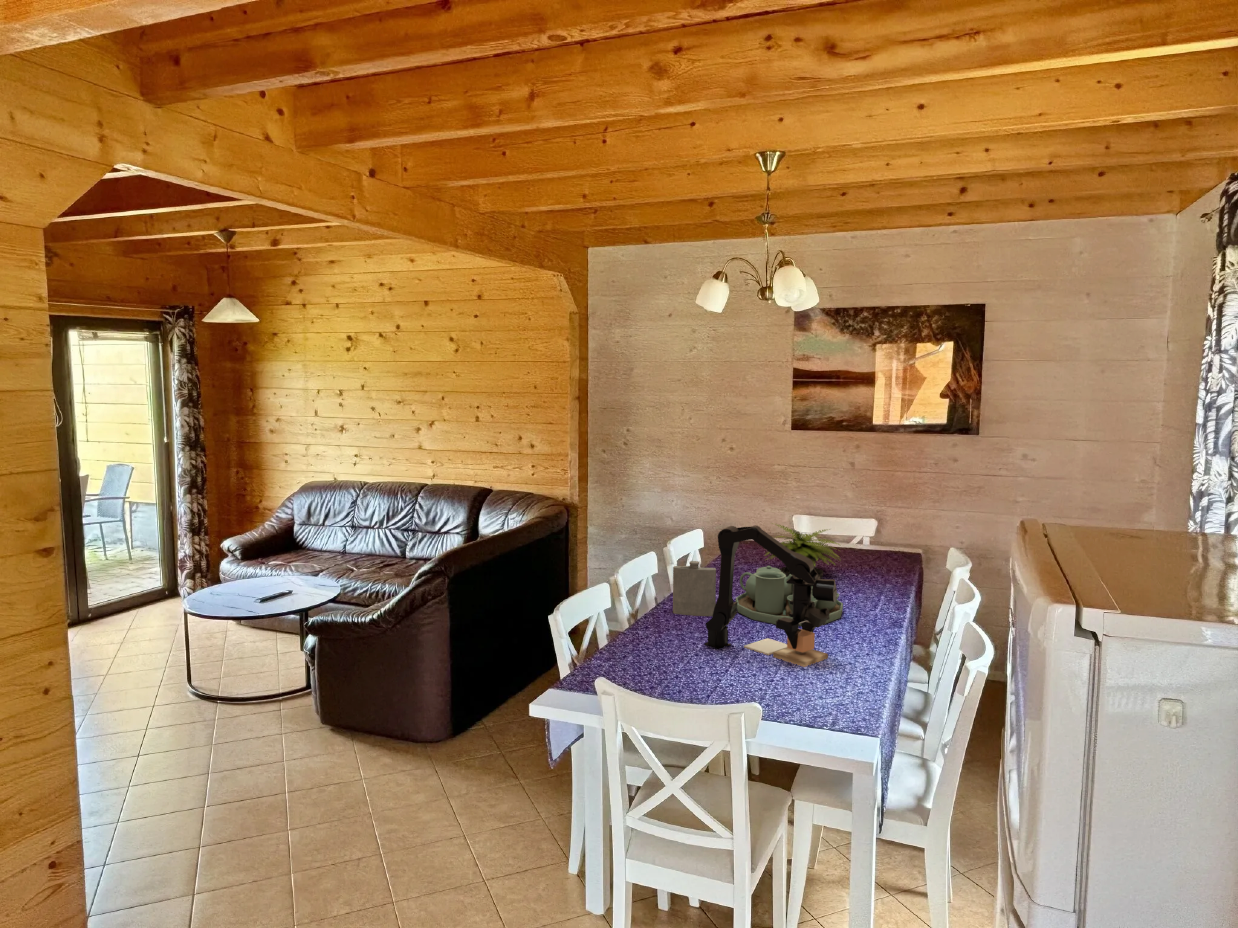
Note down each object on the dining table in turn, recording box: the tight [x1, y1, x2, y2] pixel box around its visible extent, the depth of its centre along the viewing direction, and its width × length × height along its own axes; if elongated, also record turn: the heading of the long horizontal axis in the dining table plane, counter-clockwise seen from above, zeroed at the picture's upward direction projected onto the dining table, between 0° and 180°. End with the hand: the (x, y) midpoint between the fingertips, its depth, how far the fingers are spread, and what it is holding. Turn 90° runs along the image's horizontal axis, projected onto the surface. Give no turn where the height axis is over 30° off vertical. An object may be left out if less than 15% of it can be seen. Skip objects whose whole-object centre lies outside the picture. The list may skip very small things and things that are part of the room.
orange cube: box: [786, 628, 816, 653], centre depth 261 cm, size 6×6×5 cm
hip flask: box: [672, 560, 717, 617], centre depth 308 cm, size 16×4×20 cm, turn 76°
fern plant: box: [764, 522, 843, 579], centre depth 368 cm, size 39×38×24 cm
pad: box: [743, 637, 787, 656], centre depth 272 cm, size 12×10×1 cm
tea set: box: [735, 565, 844, 627], centre depth 313 cm, size 40×40×16 cm
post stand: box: [772, 648, 829, 668], centre depth 262 cm, size 12×12×8 cm
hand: (800, 646), depth 262 cm, fingers closed on orange cube, 6 cm apart
